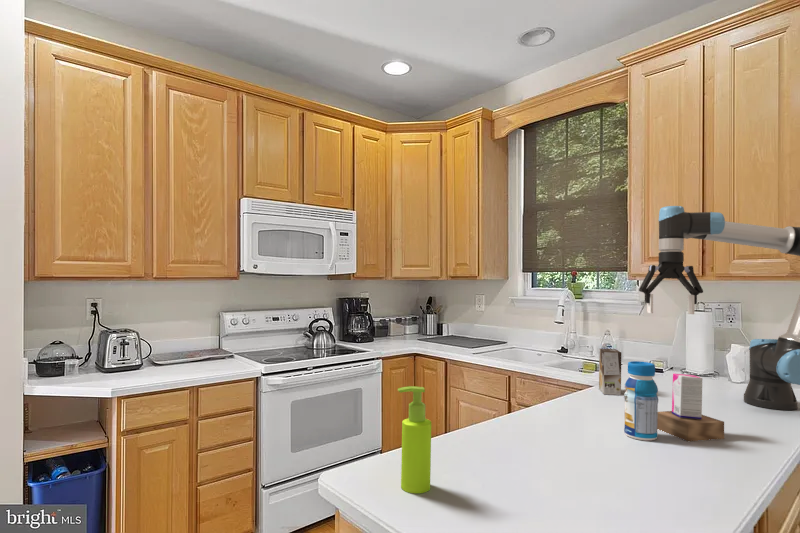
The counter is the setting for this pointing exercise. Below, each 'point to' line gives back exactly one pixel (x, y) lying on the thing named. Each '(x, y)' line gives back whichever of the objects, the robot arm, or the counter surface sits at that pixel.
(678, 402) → the supplement box
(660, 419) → the oak riser block
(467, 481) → the counter surface
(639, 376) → the beverage bottle
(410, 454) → the soap dispenser
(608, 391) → the coffee box
